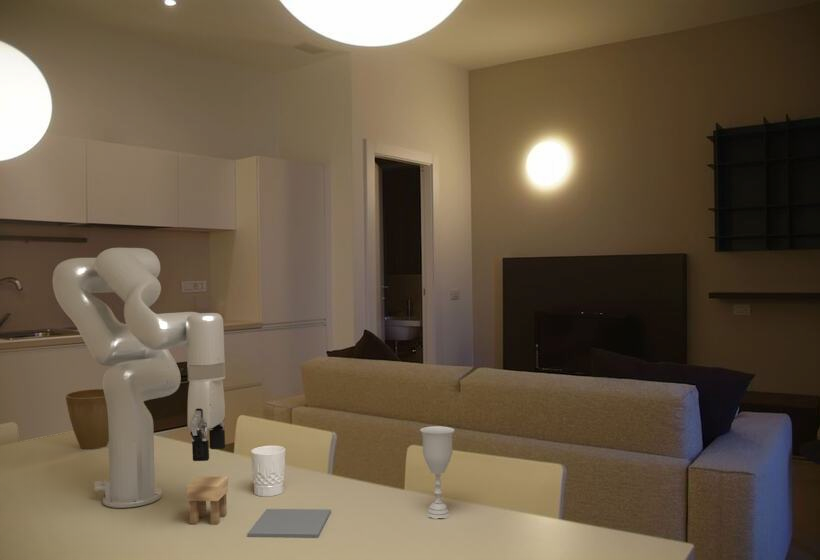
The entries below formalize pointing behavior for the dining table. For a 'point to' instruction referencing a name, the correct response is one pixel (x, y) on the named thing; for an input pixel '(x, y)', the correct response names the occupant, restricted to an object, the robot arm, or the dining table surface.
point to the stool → (207, 498)
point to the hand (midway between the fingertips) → (209, 454)
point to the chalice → (437, 462)
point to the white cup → (268, 470)
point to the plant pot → (89, 417)
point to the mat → (290, 523)
